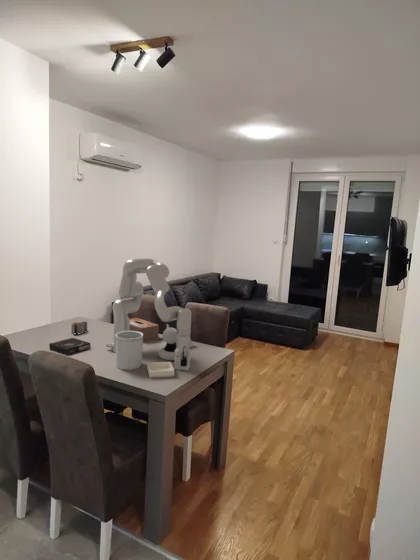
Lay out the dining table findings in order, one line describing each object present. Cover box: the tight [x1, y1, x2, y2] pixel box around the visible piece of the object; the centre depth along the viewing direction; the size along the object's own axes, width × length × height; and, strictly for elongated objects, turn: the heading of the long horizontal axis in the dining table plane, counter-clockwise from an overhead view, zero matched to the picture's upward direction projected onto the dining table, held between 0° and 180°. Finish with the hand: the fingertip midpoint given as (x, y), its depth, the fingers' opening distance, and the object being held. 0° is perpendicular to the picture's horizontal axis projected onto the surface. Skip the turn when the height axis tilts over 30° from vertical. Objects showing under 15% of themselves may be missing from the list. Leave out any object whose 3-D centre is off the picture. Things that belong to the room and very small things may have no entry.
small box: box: [173, 348, 191, 371], centre depth 202 cm, size 8×6×10 cm
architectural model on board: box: [71, 320, 88, 336], centre depth 257 cm, size 11×3×10 cm, turn 150°
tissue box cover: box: [129, 317, 160, 343], centre depth 257 cm, size 26×14×10 cm, turn 46°
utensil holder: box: [115, 331, 144, 371], centre depth 202 cm, size 15×15×18 cm
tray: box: [146, 361, 175, 379], centre depth 194 cm, size 13×13×4 cm
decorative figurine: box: [158, 323, 178, 362], centre depth 218 cm, size 15×15×20 cm
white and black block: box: [176, 334, 195, 349], centre depth 237 cm, size 17×5×10 cm, turn 141°
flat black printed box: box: [48, 337, 92, 356], centre depth 224 cm, size 16×17×4 cm
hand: (182, 363), depth 202 cm, fingers closed on small box, 7 cm apart
